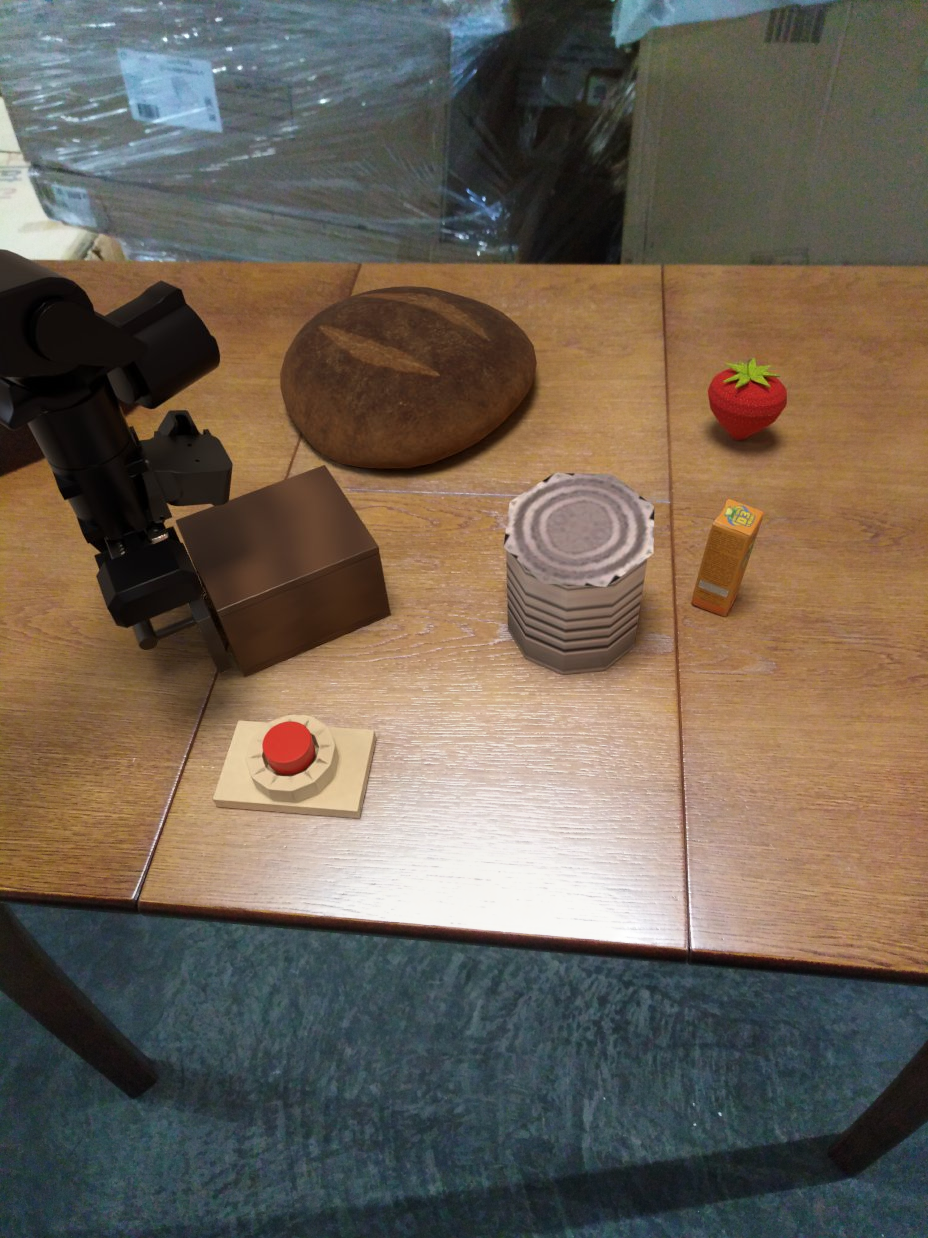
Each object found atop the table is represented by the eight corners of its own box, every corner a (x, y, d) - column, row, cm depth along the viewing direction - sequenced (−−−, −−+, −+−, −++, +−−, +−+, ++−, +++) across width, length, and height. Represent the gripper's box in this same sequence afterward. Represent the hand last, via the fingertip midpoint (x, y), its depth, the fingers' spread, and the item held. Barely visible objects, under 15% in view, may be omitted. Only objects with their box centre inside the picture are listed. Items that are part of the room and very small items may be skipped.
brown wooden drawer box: (244, 677, 75) (216, 611, 68) (203, 587, 81) (174, 519, 75) (391, 614, 78) (378, 546, 72) (340, 533, 85) (324, 464, 78)
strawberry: (766, 467, 88) (789, 381, 80) (691, 447, 90) (707, 362, 82) (781, 431, 91) (805, 346, 83) (709, 413, 93) (725, 328, 86)
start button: (261, 773, 66) (256, 761, 64) (274, 731, 68) (268, 719, 67) (309, 777, 65) (304, 764, 64) (320, 735, 68) (315, 722, 66)
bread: (389, 297, 111) (380, 228, 104) (581, 361, 100) (585, 289, 94) (230, 421, 97) (208, 351, 90) (434, 512, 86) (426, 440, 79)
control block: (216, 807, 67) (205, 787, 65) (241, 728, 71) (232, 707, 69) (359, 819, 66) (353, 799, 63) (376, 737, 70) (371, 716, 68)
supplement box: (728, 619, 76) (750, 536, 68) (689, 605, 77) (707, 521, 69) (742, 593, 78) (765, 509, 70) (704, 579, 79) (723, 495, 71)
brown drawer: (163, 698, 73) (135, 646, 67) (132, 613, 79) (104, 560, 73) (357, 615, 77) (345, 562, 72) (313, 541, 83) (299, 486, 78)
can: (668, 624, 76) (688, 522, 67) (574, 700, 71) (581, 603, 62) (572, 554, 82) (578, 451, 72) (479, 620, 77) (473, 520, 68)
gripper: (246, 480, 57) (295, 634, 69) (167, 338, 68) (221, 492, 80) (70, 545, 54) (153, 694, 66) (17, 385, 65) (96, 538, 77)
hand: (160, 595), depth 72 cm, fingers closed
